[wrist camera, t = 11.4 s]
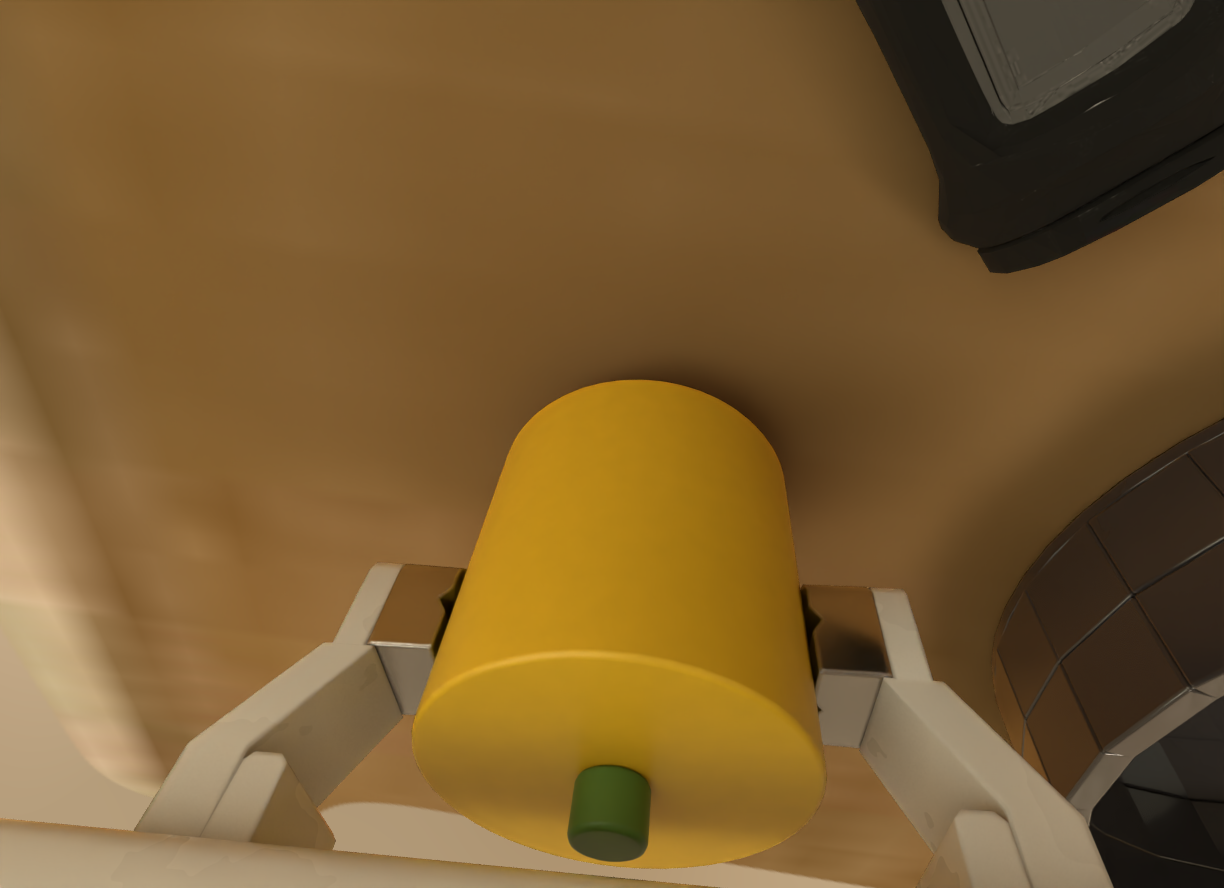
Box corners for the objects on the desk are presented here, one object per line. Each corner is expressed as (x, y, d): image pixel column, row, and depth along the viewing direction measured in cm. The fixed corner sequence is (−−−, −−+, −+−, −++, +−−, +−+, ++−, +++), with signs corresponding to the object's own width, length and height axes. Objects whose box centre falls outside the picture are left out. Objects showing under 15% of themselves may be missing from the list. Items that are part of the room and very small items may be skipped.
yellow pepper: (485, 374, 12) (331, 705, 7) (802, 380, 12) (879, 745, 7) (522, 582, 15) (434, 910, 10) (770, 595, 15) (805, 949, 10)
